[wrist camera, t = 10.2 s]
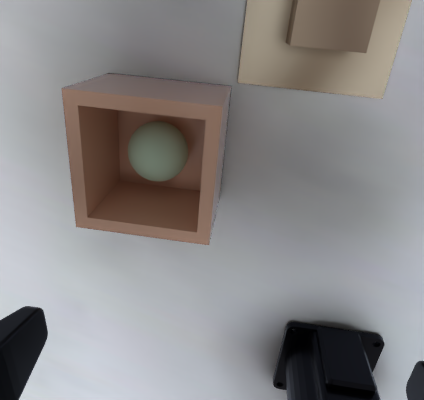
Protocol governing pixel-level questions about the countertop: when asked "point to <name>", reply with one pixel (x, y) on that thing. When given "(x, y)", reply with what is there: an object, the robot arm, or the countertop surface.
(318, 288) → the countertop surface
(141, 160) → the ball
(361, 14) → the lid
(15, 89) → the countertop surface
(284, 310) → the countertop surface
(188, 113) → the pot
